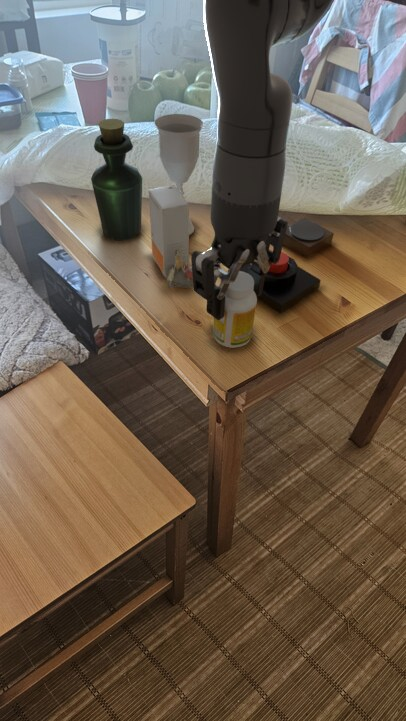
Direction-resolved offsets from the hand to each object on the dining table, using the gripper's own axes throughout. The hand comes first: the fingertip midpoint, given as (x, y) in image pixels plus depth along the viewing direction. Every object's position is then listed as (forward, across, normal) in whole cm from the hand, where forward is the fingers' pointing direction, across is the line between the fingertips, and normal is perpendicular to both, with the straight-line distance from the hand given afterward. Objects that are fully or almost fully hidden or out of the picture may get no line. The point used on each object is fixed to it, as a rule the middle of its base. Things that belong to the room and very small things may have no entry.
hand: (235, 304), depth 66 cm
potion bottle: (+6, +4, +31) cm, 32 cm away
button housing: (+6, +13, +4) cm, 15 cm away
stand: (+6, +26, +8) cm, 27 cm away
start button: (+3, +13, +4) cm, 14 cm away
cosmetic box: (+6, +4, +18) cm, 20 cm away
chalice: (+6, +12, +25) cm, 29 cm away
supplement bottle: (+6, 0, 0) cm, 6 cm away
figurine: (+6, +2, +13) cm, 15 cm away
